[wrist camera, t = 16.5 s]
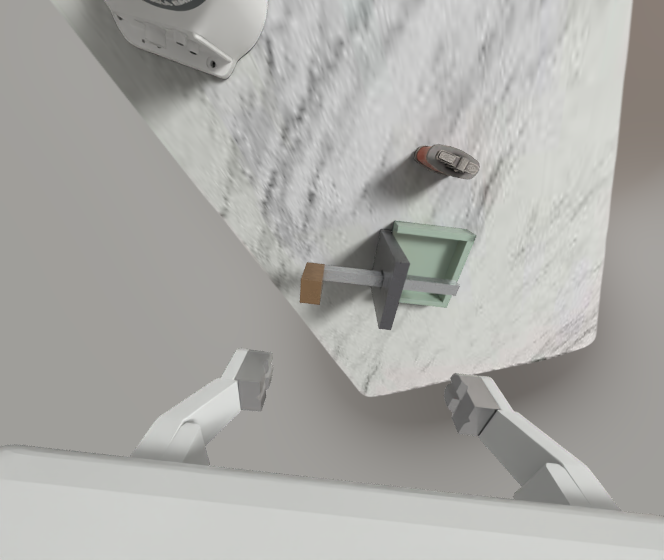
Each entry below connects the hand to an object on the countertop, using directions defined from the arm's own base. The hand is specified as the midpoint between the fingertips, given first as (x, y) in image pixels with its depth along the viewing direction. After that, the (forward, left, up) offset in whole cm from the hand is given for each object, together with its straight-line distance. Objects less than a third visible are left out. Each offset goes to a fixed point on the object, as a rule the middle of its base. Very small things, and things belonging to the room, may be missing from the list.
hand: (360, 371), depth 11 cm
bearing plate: (+8, -10, -39) cm, 41 cm away
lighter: (+14, +9, -39) cm, 43 cm away
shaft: (+7, -10, -30) cm, 32 cm away
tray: (+16, -10, -39) cm, 44 cm away
